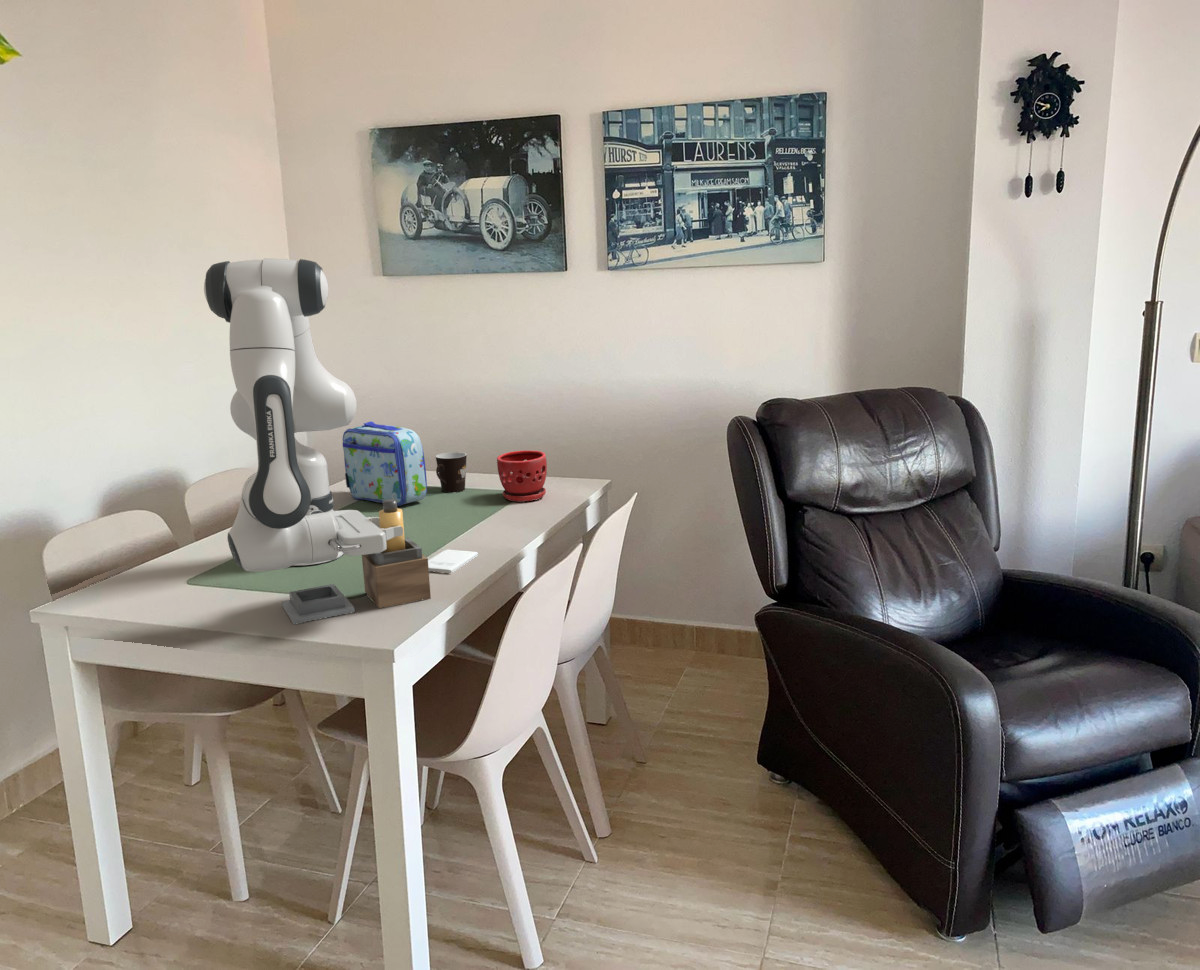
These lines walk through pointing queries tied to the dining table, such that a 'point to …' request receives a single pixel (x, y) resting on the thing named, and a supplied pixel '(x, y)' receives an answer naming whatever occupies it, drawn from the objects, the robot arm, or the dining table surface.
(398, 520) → the yellow bottle
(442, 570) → the external hard drive
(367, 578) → the walnut stand
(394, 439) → the lunch box
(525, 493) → the plant pot
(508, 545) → the dining table surface
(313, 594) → the low socket
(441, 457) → the coffee mug
